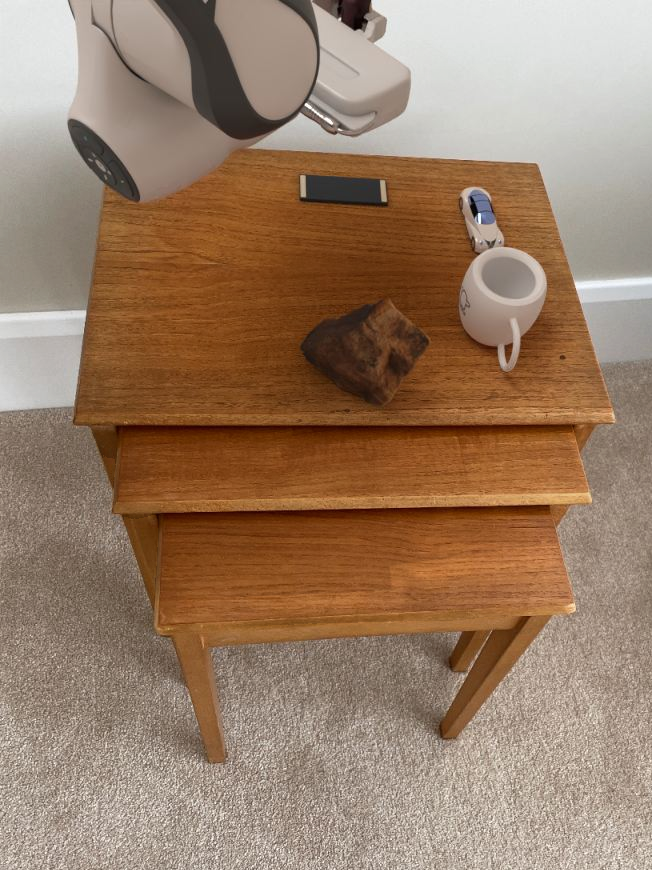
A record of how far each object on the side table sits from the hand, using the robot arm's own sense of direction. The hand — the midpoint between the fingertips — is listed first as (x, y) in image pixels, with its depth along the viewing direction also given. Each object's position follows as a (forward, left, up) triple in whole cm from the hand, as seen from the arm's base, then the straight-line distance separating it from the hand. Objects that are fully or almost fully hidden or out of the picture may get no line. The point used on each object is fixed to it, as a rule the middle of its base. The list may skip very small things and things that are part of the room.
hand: (362, 9), depth 70 cm
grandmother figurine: (0, -1, -7) cm, 7 cm away
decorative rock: (+17, -17, -22) cm, 33 cm away
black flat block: (-1, +1, -21) cm, 21 cm away
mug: (+24, -3, -22) cm, 33 cm away
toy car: (+15, +8, -22) cm, 27 cm away
